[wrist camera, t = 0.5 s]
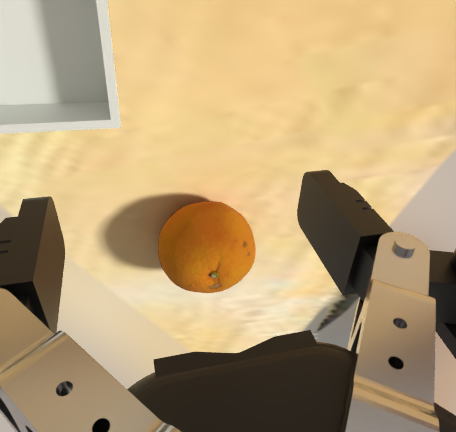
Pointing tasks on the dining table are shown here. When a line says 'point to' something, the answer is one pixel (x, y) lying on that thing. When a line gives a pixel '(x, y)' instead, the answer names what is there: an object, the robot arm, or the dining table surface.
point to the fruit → (206, 247)
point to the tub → (56, 66)
